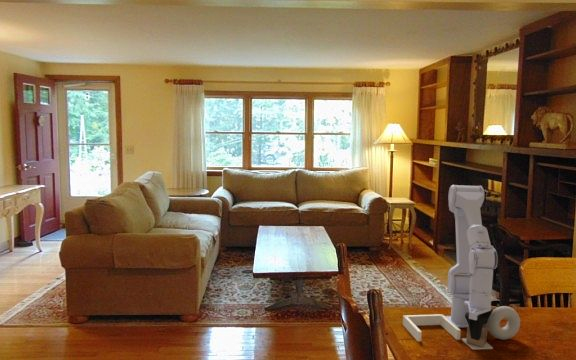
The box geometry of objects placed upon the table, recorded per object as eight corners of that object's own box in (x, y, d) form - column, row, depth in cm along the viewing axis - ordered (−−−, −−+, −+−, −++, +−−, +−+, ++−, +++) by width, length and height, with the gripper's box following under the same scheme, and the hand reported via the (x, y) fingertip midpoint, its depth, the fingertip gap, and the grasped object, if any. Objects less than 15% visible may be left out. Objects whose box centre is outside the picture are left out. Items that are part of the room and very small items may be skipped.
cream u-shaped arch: (441, 323, 143) (442, 314, 143) (460, 339, 132) (460, 330, 131) (402, 324, 141) (403, 315, 141) (417, 341, 130) (418, 331, 130)
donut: (514, 335, 135) (516, 303, 134) (521, 340, 132) (524, 308, 131) (483, 337, 134) (485, 304, 133) (490, 342, 130) (492, 309, 129)
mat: (480, 339, 132) (480, 337, 132) (492, 348, 127) (492, 347, 126) (461, 339, 132) (461, 338, 132) (472, 349, 126) (472, 348, 126)
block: (470, 337, 132) (471, 320, 132) (486, 341, 130) (487, 324, 129) (466, 342, 129) (467, 325, 128) (482, 347, 126) (484, 329, 125)
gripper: (472, 280, 136) (469, 323, 137) (458, 293, 124) (455, 340, 125) (497, 285, 131) (494, 330, 133) (486, 299, 120) (482, 348, 121)
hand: (477, 335), depth 129 cm, fingers closed on block, 4 cm apart
